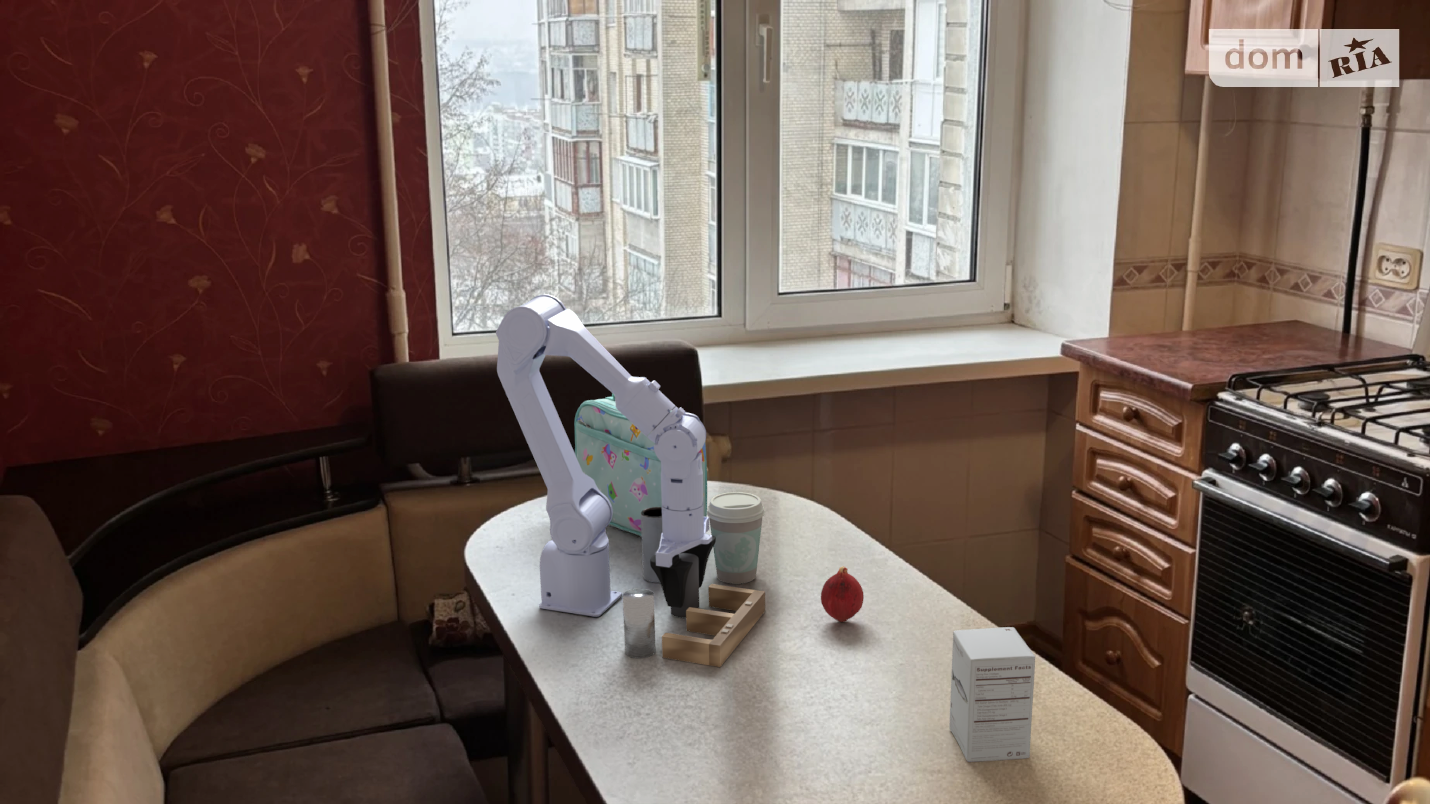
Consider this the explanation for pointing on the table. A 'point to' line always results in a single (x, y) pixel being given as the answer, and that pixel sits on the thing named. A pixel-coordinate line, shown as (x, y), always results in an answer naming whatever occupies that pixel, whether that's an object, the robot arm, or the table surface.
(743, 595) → the rack
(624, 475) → the lunch box
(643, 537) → the grey tubular piece
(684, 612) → the dark grey cylinder
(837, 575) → the onion
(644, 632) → the grey rod
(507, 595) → the table surface
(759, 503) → the coffee cup
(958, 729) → the supplement box
